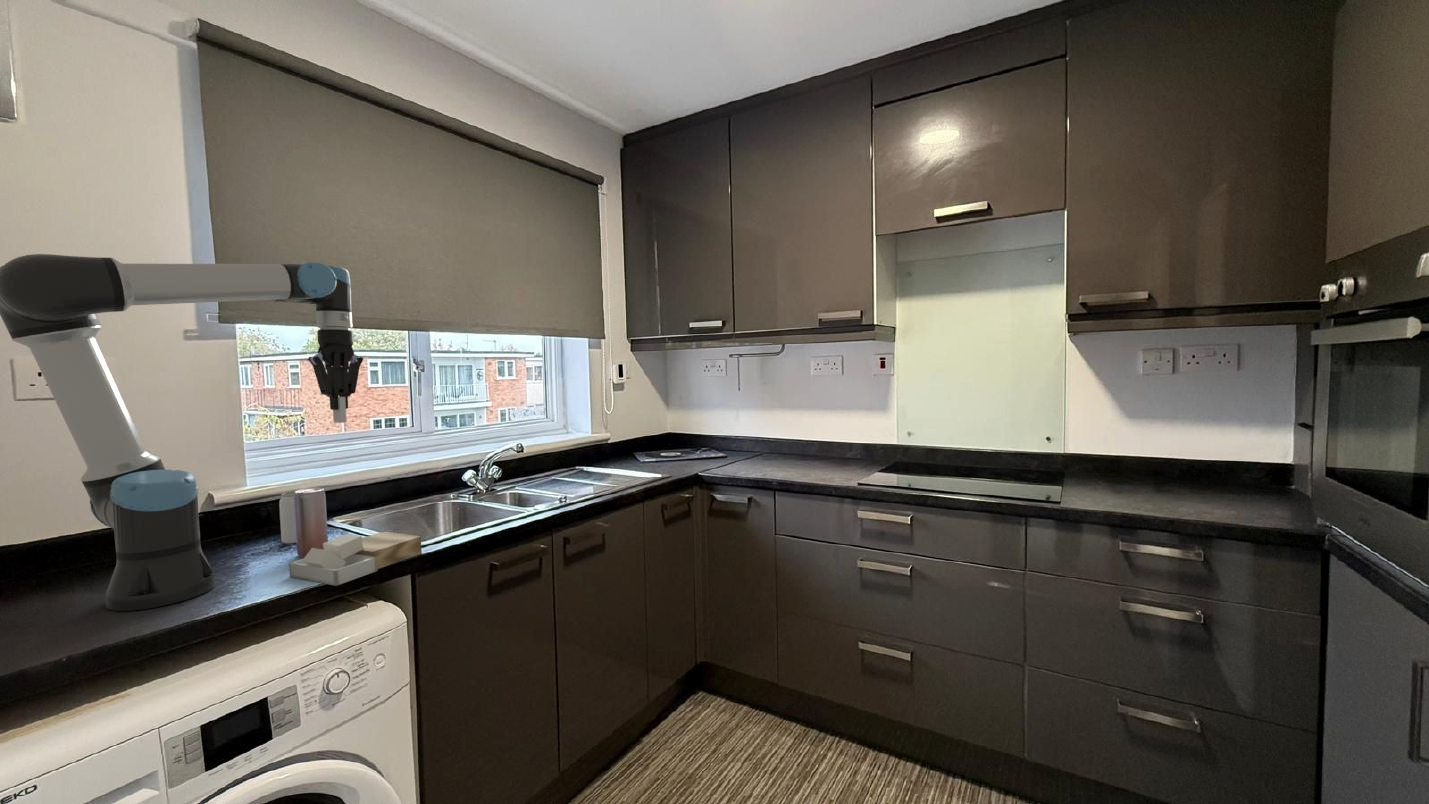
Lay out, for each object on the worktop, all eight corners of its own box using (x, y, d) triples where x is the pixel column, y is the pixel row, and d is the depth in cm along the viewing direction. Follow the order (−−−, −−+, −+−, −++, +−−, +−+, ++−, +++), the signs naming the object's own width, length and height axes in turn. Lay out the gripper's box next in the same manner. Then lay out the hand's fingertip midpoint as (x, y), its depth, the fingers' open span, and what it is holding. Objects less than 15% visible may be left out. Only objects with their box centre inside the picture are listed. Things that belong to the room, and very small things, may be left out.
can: (296, 545, 143) (293, 496, 142) (274, 543, 144) (272, 495, 144) (319, 537, 149) (316, 491, 149) (298, 536, 151) (295, 490, 150)
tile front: (346, 562, 122) (336, 575, 120) (329, 559, 123) (319, 572, 121) (328, 550, 118) (318, 563, 116) (311, 547, 120) (301, 561, 118)
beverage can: (291, 556, 134) (287, 492, 133) (317, 548, 140) (313, 487, 139) (308, 559, 132) (304, 493, 131) (334, 551, 137) (331, 488, 136)
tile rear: (341, 559, 121) (339, 545, 120) (325, 557, 123) (322, 543, 122) (363, 549, 125) (361, 536, 125) (347, 547, 127) (345, 534, 127)
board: (374, 570, 124) (373, 551, 124) (335, 563, 128) (334, 546, 128) (421, 553, 135) (420, 536, 135) (384, 548, 140) (383, 531, 139)
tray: (336, 585, 115) (335, 571, 115) (289, 577, 120) (289, 562, 120) (377, 570, 124) (376, 557, 123) (332, 563, 129) (331, 550, 129)
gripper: (319, 327, 140) (324, 425, 141) (369, 330, 152) (373, 420, 153) (298, 328, 143) (304, 424, 144) (349, 331, 155) (354, 419, 156)
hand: (340, 422), depth 149 cm, fingers closed
